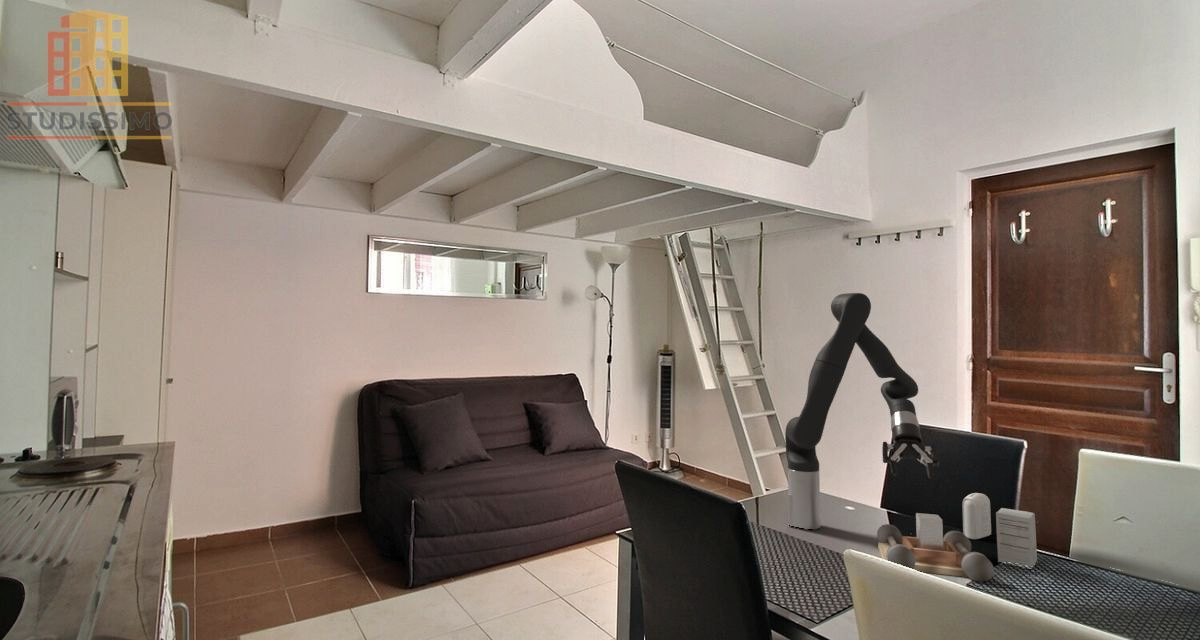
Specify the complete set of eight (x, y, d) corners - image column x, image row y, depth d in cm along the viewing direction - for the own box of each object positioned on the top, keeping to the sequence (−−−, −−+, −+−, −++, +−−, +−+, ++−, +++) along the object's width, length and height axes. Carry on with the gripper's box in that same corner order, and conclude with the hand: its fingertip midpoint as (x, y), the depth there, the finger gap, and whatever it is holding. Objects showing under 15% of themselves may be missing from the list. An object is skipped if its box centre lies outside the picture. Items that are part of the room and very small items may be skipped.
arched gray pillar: (977, 531, 171) (976, 490, 172) (993, 535, 168) (991, 492, 169) (961, 537, 166) (959, 494, 167) (977, 541, 162) (975, 497, 163)
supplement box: (1003, 556, 149) (1001, 507, 150) (1038, 563, 144) (1035, 512, 145) (996, 562, 144) (994, 512, 145) (1033, 570, 139) (1030, 518, 140)
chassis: (888, 570, 138) (887, 545, 138) (877, 545, 157) (876, 523, 158) (994, 583, 130) (993, 556, 131) (969, 555, 150) (968, 531, 150)
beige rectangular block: (921, 558, 142) (919, 517, 143) (917, 552, 147) (915, 512, 148) (943, 561, 141) (942, 519, 141) (939, 554, 145) (937, 514, 146)
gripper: (880, 420, 171) (885, 465, 159) (934, 423, 166) (944, 469, 154) (878, 436, 175) (883, 481, 164) (931, 439, 170) (940, 485, 159)
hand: (913, 475), depth 159 cm, fingers open, 8 cm apart
